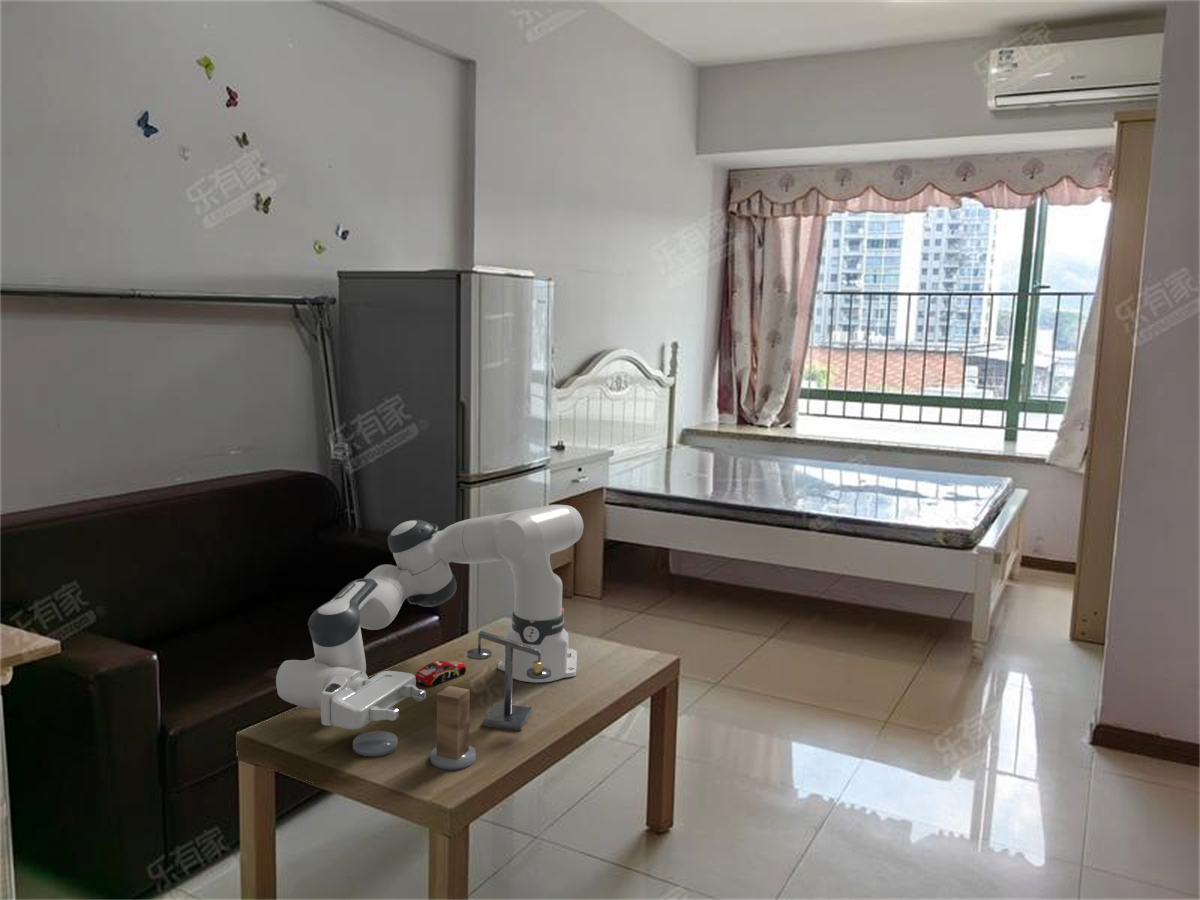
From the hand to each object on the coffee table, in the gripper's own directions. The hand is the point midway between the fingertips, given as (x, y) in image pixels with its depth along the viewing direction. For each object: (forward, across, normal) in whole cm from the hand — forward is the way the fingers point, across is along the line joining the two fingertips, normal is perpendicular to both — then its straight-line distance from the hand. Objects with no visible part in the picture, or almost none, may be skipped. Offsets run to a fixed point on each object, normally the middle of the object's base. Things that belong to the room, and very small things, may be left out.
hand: (410, 705), depth 177 cm
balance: (+11, -20, -9) cm, 24 cm away
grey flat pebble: (+9, 0, -9) cm, 13 cm away
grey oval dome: (-7, +2, -9) cm, 11 cm away
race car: (-13, -34, -10) cm, 37 cm away
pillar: (+9, 0, -8) cm, 12 cm away
